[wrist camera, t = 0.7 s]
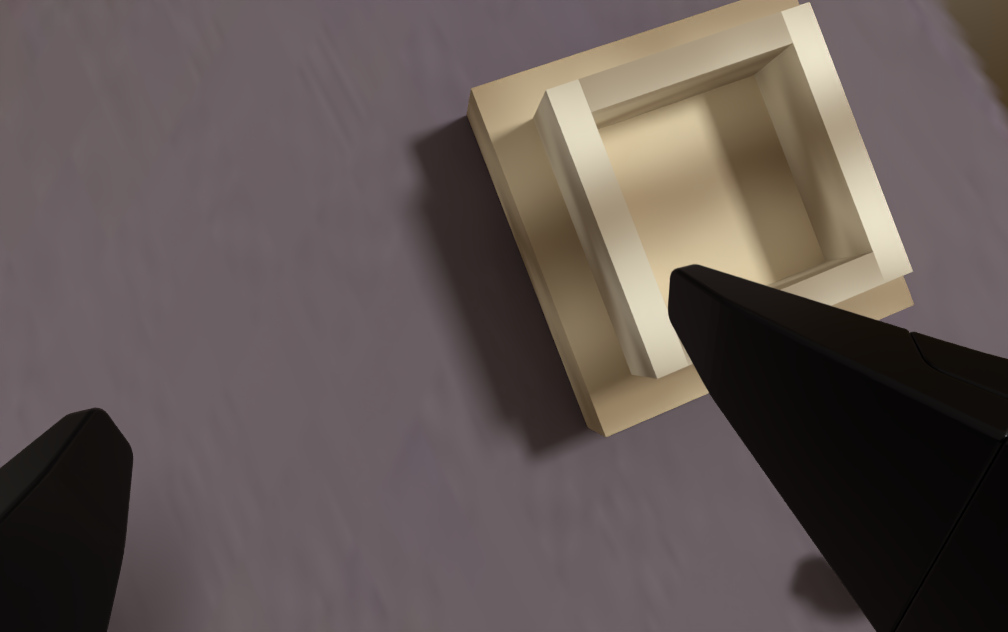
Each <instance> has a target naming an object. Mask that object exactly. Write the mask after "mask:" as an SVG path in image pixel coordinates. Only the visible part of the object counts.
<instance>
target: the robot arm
mask: <svg viewBox="0 0 1008 632" xmlns="http://www.w3.org/2000/svg"><path fill="white" fill-rule="evenodd" d="M668 316H669V319H670V322H671V324H672V326H673V328H674V330H675V332H676V334H677V335H678V337H679V339H680V341H681V343H682V345H683V347H684V348H685V350H686V352H687V354H688V356H689V358H690V359H691V361H692V363H693V365H694V367H695V369H696V371H697V372H698V374H699V376H700V378H701V380H702V382H703V383H704V385H705V387H706V389H707V390H708V392H709V394H710V395H711V397H712V398H713V400H714V401H715V403H716V404H717V405H718V407H719V408H720V410H721V411H722V413H723V414H724V415H725V417H726V418H727V420H728V421H729V423H730V424H731V425H732V427H733V428H734V430H735V431H736V433H737V434H738V435H739V437H740V438H741V440H742V441H743V442H744V444H745V445H746V447H747V448H748V450H749V451H750V452H751V454H752V455H753V457H754V458H755V460H756V461H757V462H758V464H759V465H760V467H761V468H762V470H763V471H764V472H765V474H766V475H767V477H768V478H769V479H770V481H771V482H772V484H773V485H774V487H775V488H776V489H777V491H778V492H779V494H780V495H781V497H782V498H783V499H784V501H785V502H786V504H787V505H788V507H789V508H790V509H791V511H792V512H793V514H794V515H795V516H796V518H797V519H798V521H799V522H800V524H801V525H802V526H803V528H804V529H805V531H806V532H807V534H808V535H809V536H810V538H811V539H812V541H813V542H814V544H815V545H816V546H817V548H818V549H819V551H820V552H821V554H822V555H823V556H824V558H825V559H826V561H827V562H828V563H829V565H830V566H831V568H832V569H833V571H834V572H835V573H836V575H837V576H838V578H839V579H840V581H841V582H842V583H843V585H844V586H845V588H846V589H847V591H848V592H849V593H850V595H851V596H852V598H853V599H854V600H855V602H856V603H857V605H858V606H859V608H860V609H861V610H862V612H863V613H864V615H865V616H866V618H867V619H868V620H869V622H870V623H871V625H872V626H873V628H874V629H875V630H876V632H1008V359H1006V358H1002V357H999V356H995V355H991V354H987V353H984V352H980V351H977V350H973V349H970V348H967V347H963V346H960V345H956V344H953V343H950V342H946V341H943V340H940V339H936V338H933V337H930V336H927V335H924V334H921V333H917V332H911V333H909V331H908V330H907V329H904V328H901V327H898V326H895V325H891V324H888V323H885V322H882V321H878V320H875V319H872V318H869V317H866V316H862V315H859V314H856V313H853V312H850V311H846V310H843V309H840V308H837V307H833V306H830V305H827V304H824V303H821V302H817V301H814V300H811V299H808V298H805V297H801V296H798V295H795V294H792V293H788V292H785V291H782V290H779V289H776V288H772V287H769V286H766V285H763V284H760V283H756V282H753V281H750V280H747V279H744V278H740V277H737V276H734V275H731V274H728V273H724V272H721V271H718V270H715V269H712V268H708V267H705V266H702V265H699V264H692V265H687V266H683V267H679V268H676V269H674V270H673V271H672V272H671V275H670V282H669V297H668ZM132 468H133V453H132V449H131V446H130V444H129V443H128V441H127V440H126V438H125V437H124V436H123V434H122V433H121V432H120V430H119V429H118V427H117V426H116V425H115V423H114V422H113V420H112V419H111V418H110V416H109V415H108V414H107V413H106V412H105V411H104V410H103V409H100V408H91V409H87V410H83V411H78V412H74V413H70V414H68V415H66V416H65V417H63V418H62V419H61V420H59V421H58V422H57V423H56V424H54V425H53V426H52V427H51V428H50V429H48V430H47V431H46V432H45V433H43V434H42V435H41V436H40V437H38V438H37V439H36V440H35V441H33V442H32V443H31V444H30V445H28V446H27V447H26V448H25V449H23V450H22V451H21V452H20V453H18V454H17V455H16V456H15V457H13V458H12V459H11V460H10V461H9V462H7V463H6V464H5V465H4V466H2V467H1V468H0V632H107V629H108V625H109V620H110V616H111V611H112V607H113V602H114V598H115V593H116V588H117V584H118V579H119V575H120V570H121V565H122V560H123V555H124V548H125V541H126V532H127V521H128V511H129V500H130V489H131V479H132Z"/></svg>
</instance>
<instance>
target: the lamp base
mask: <svg viewBox="0 0 1008 632" xmlns="http://www.w3.org/2000/svg"><path fill="white" fill-rule="evenodd" d="M467 117H468V119H469V122H470V124H471V127H472V130H473V132H474V135H475V137H476V140H477V142H478V145H479V148H480V150H481V153H482V155H483V158H484V161H485V163H486V166H487V168H488V171H489V174H490V176H491V179H492V181H493V184H494V186H495V189H496V192H497V194H498V197H499V199H500V202H501V205H502V207H503V210H504V212H505V215H506V217H507V220H508V223H509V225H510V228H511V230H512V233H513V236H514V238H515V241H516V243H517V246H518V248H519V251H520V254H521V256H522V259H523V261H524V264H525V267H526V269H527V272H528V274H529V277H530V280H531V282H532V285H533V287H534V290H535V292H536V295H537V298H538V300H539V303H540V305H541V308H542V311H543V313H544V316H545V318H546V321H547V323H548V326H549V329H550V331H551V334H552V336H553V339H554V342H555V344H556V347H557V349H558V352H559V355H560V357H561V360H562V362H563V365H564V367H565V370H566V373H567V375H568V378H569V380H570V383H571V386H572V388H573V391H574V393H575V396H576V398H577V401H578V404H579V406H580V409H581V411H582V414H583V417H584V419H585V422H586V424H587V427H588V428H590V429H591V430H593V431H595V432H597V433H599V434H601V435H603V436H605V437H608V436H610V435H612V434H615V433H617V432H619V431H622V430H624V429H626V428H629V427H631V426H633V425H636V424H638V423H640V422H643V421H645V420H647V419H650V418H652V417H654V416H656V415H659V414H661V413H663V412H666V411H668V410H670V409H673V408H675V407H677V406H680V405H682V404H684V403H687V402H689V401H691V400H694V399H696V398H698V397H701V396H703V395H705V394H708V393H709V392H708V390H707V389H706V387H705V385H704V383H703V382H702V380H701V378H700V376H699V374H698V372H697V371H696V369H695V367H694V365H693V363H692V361H691V359H690V358H689V356H688V354H687V352H686V350H685V348H684V347H683V345H682V343H681V341H680V339H679V337H678V335H677V334H676V332H675V330H674V328H673V326H672V324H671V322H670V319H669V316H668V297H669V282H670V275H671V272H672V271H673V270H674V269H676V268H679V267H683V266H687V265H692V264H699V265H702V266H705V267H708V268H712V269H715V270H718V271H721V272H724V273H728V274H731V275H734V276H737V277H740V278H744V279H747V280H750V281H753V282H756V283H760V284H763V285H766V286H769V287H772V288H776V289H779V290H782V291H785V292H788V293H792V294H795V295H798V296H801V297H805V298H808V299H811V300H814V301H817V302H821V303H824V304H827V305H830V306H833V307H837V308H840V309H843V310H846V311H850V312H853V313H856V314H859V315H862V316H866V317H869V318H872V319H875V320H879V319H882V318H884V317H886V316H889V315H891V314H893V313H896V312H898V311H900V310H903V309H905V308H907V307H910V306H912V305H914V303H913V300H912V298H911V295H910V293H909V290H908V287H907V285H906V282H905V279H904V277H903V275H905V274H908V273H910V272H913V271H912V268H911V265H910V263H909V260H908V257H907V255H906V252H905V250H904V247H903V244H902V242H901V239H900V237H899V234H898V231H897V229H896V226H895V224H894V221H893V218H892V216H891V213H890V210H889V208H888V205H887V203H886V200H885V197H884V195H883V192H882V190H881V187H880V184H879V182H878V179H877V177H876V174H875V171H874V169H873V166H872V163H871V161H870V158H869V156H868V153H867V150H866V148H865V145H864V143H863V140H862V137H861V135H860V132H859V130H858V127H857V124H856V122H855V119H854V116H853V114H852V111H851V109H850V106H849V103H848V101H847V98H846V96H845V93H844V90H843V88H842V85H841V83H840V80H839V77H838V75H837V72H836V69H835V67H834V64H833V62H832V59H831V56H830V54H829V51H828V49H827V46H826V43H825V41H824V38H823V36H822V33H821V30H820V28H819V25H818V22H817V20H816V17H815V15H814V12H813V9H812V7H811V4H810V2H808V3H805V4H802V5H799V3H798V0H741V1H738V2H735V3H731V4H728V5H725V6H722V7H719V8H716V9H713V10H710V11H707V12H704V13H701V14H698V15H695V16H692V17H689V18H686V19H682V20H679V21H676V22H673V23H670V24H667V25H664V26H661V27H658V28H655V29H652V30H649V31H646V32H643V33H640V34H637V35H634V36H630V37H627V38H624V39H621V40H618V41H615V42H612V43H609V44H606V45H603V46H600V47H597V48H594V49H591V50H588V51H585V52H581V53H578V54H575V55H572V56H569V57H566V58H563V59H560V60H557V61H554V62H551V63H548V64H545V65H542V66H539V67H536V68H533V69H529V70H526V71H523V72H520V73H517V74H514V75H511V76H508V77H505V78H502V79H499V80H496V81H493V82H490V83H487V84H484V85H480V86H477V87H474V88H471V92H470V98H469V104H468V110H467Z"/></svg>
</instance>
